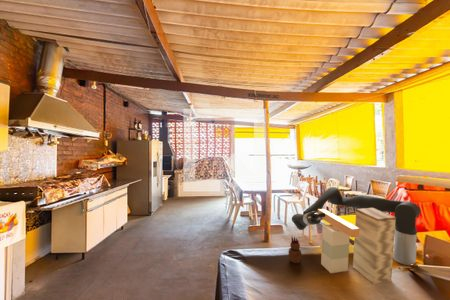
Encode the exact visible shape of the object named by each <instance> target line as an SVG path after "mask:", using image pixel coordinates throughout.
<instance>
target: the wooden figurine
mask: <svg viewBox="0 0 450 300" xmlns="http://www.w3.org/2000/svg"><path fill="white" fill-rule="evenodd" d="M288 259H289V261H290V262H291V263H292V262H293V264H299V263H300V262H301V260H302V251H301V245H300V242H299V239H298V238H297V237H296V236H294V237H293V236H291V242H290V248H289V249H288Z"/></svg>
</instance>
